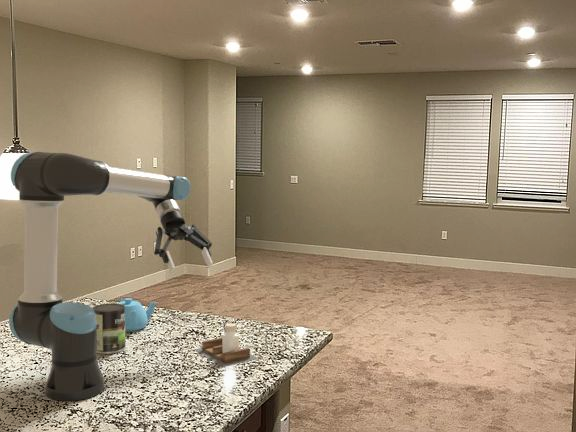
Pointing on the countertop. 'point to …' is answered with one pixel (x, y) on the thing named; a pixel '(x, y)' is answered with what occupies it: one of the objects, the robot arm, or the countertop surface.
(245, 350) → the rack
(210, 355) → the mat
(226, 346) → the salt shaker
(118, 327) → the coffee can
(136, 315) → the teapot
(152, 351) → the countertop surface
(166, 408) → the countertop surface
